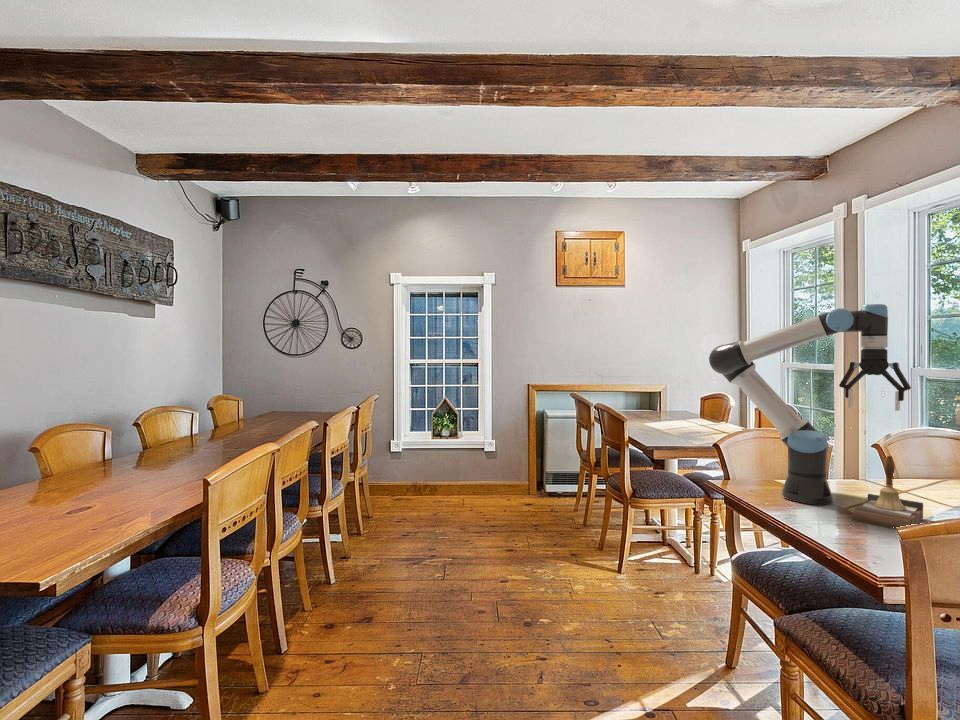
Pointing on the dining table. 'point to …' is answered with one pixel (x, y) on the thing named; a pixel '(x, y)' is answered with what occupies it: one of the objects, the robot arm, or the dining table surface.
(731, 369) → the robot arm
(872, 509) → the brown wooden display stand
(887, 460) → the hand bell
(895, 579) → the dining table surface
